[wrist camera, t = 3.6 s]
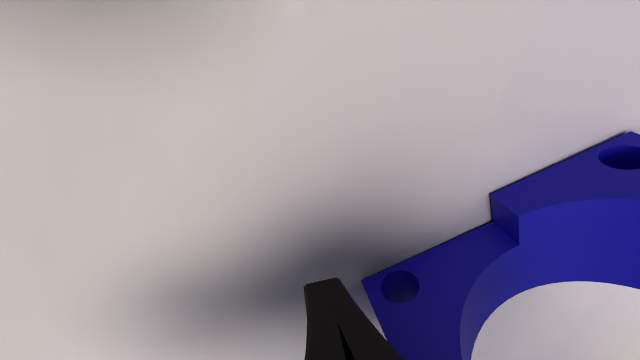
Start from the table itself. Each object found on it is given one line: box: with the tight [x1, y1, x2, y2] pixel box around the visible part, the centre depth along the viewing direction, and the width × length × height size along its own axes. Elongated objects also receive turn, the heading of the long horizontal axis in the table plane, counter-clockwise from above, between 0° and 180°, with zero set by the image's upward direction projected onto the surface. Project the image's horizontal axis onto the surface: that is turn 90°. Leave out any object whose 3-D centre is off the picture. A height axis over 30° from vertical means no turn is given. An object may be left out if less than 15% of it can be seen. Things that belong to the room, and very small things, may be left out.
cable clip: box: [361, 131, 640, 360], centre depth 11 cm, size 12×4×6 cm, turn 111°
